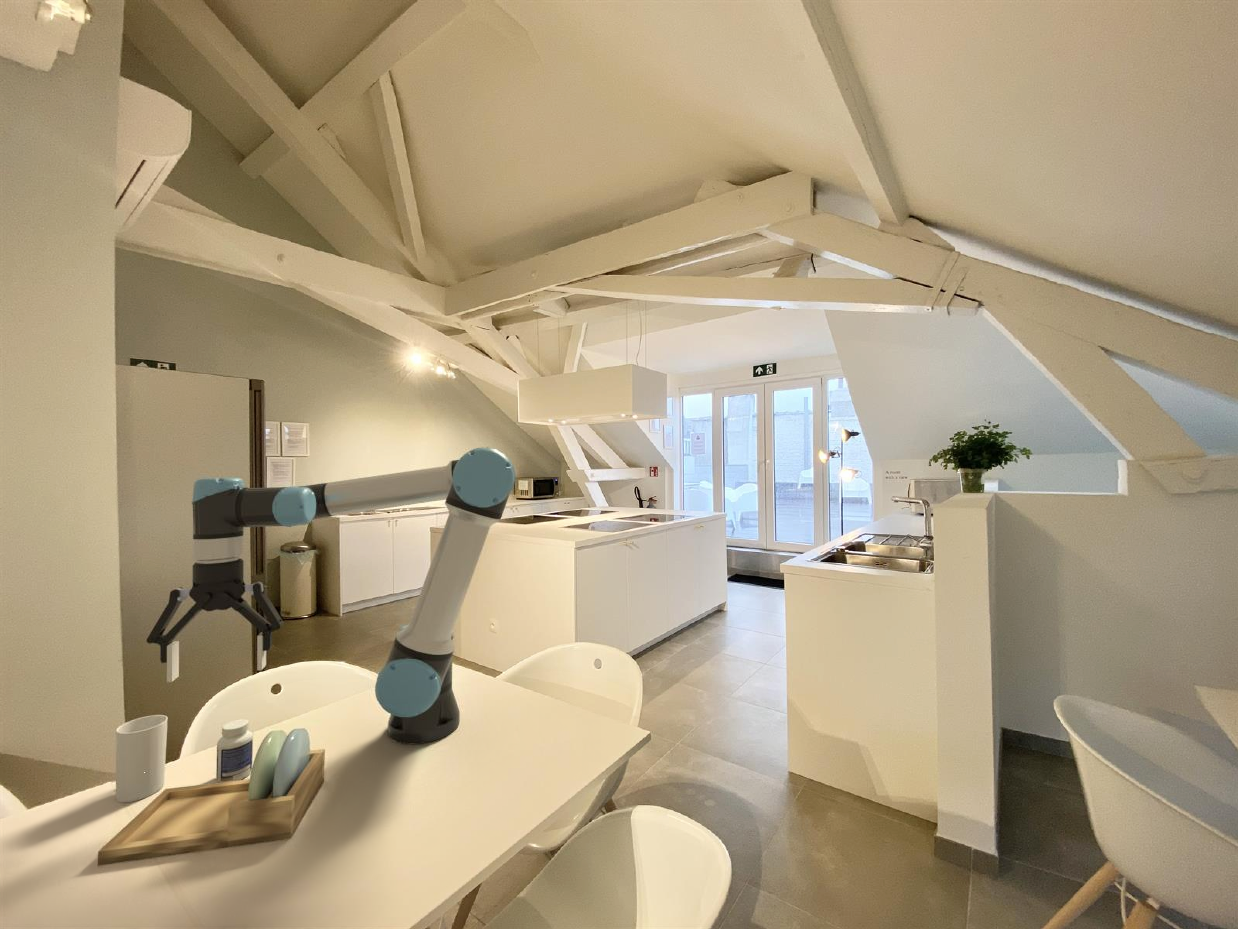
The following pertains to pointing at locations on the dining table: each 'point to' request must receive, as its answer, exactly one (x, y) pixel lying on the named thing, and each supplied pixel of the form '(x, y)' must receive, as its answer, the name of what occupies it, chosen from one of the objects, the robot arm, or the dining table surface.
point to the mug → (140, 757)
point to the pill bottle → (234, 752)
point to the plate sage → (265, 765)
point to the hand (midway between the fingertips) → (218, 673)
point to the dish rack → (214, 818)
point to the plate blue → (291, 761)
